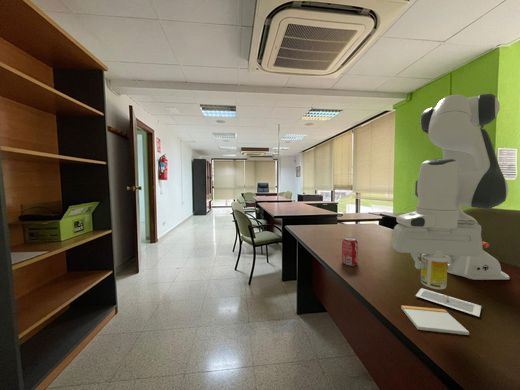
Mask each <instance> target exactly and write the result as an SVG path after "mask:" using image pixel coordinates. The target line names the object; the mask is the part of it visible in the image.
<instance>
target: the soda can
mask: <svg viewBox="0 0 520 390" xmlns="http://www.w3.org/2000/svg"><path fill="white" fill-rule="evenodd" d="M341 262H342V263H343V264H344V265H346V266H350V267H353V266H356V265H358V262H359V241H358V238H356V237H352V236H351V237H350V236H345V237H343V240H342V242H341Z"/></svg>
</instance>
